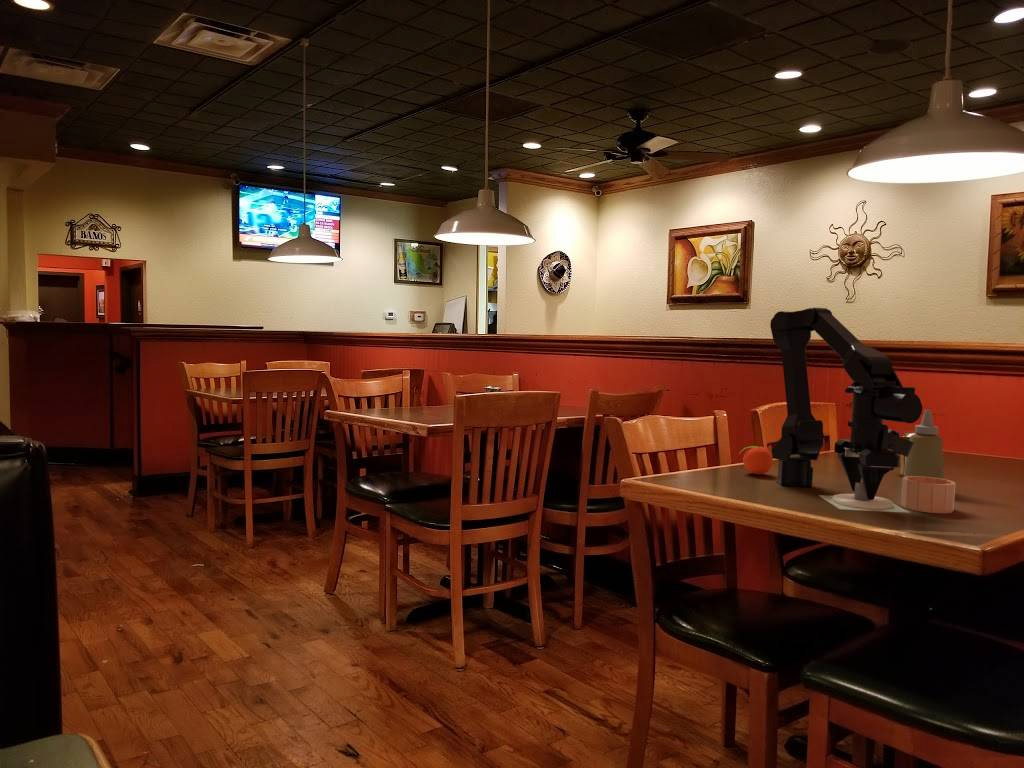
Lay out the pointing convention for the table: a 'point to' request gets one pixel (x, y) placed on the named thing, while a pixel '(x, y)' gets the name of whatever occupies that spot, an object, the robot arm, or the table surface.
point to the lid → (862, 500)
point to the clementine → (757, 460)
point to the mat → (842, 507)
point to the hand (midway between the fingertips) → (862, 495)
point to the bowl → (928, 494)
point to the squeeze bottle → (925, 450)
